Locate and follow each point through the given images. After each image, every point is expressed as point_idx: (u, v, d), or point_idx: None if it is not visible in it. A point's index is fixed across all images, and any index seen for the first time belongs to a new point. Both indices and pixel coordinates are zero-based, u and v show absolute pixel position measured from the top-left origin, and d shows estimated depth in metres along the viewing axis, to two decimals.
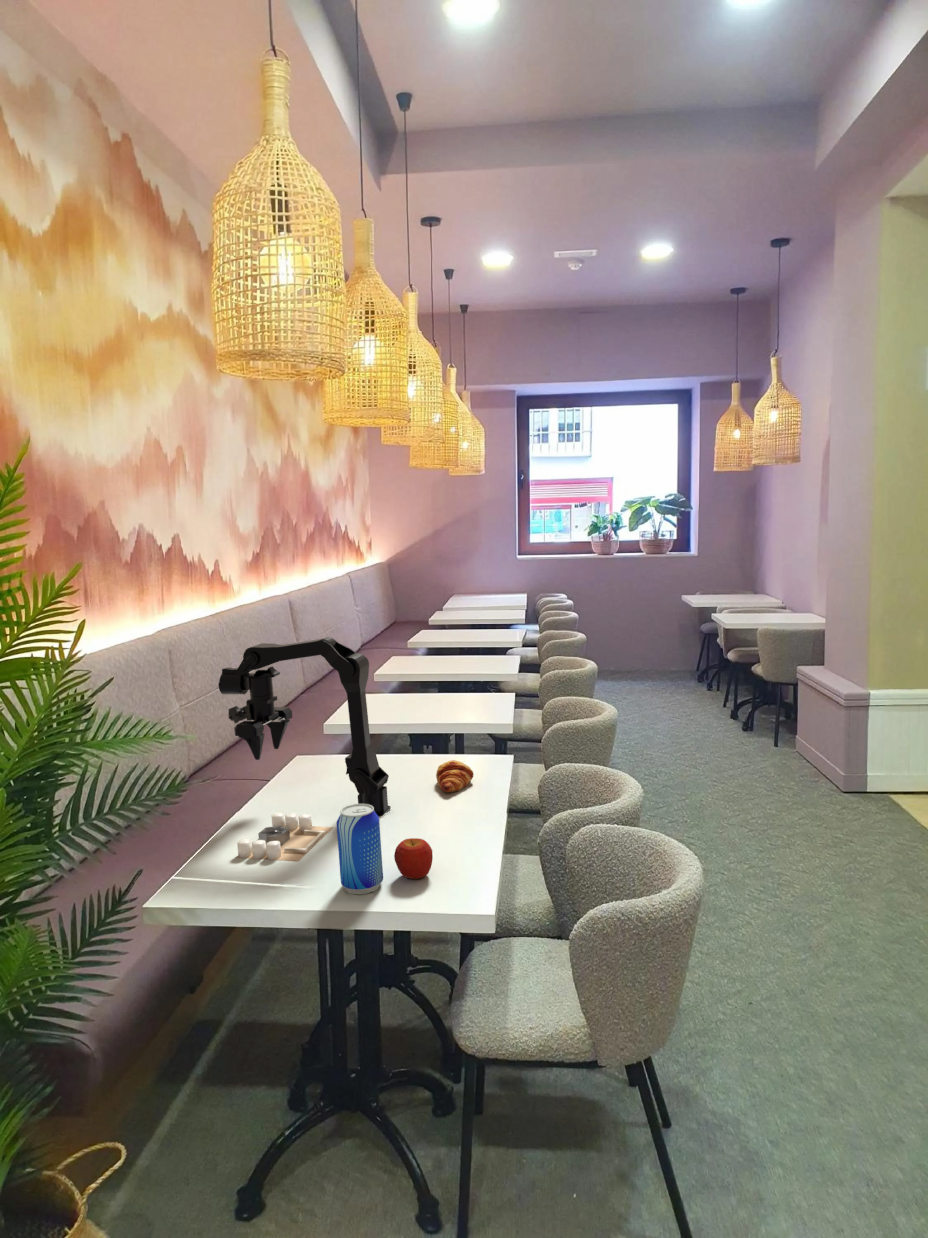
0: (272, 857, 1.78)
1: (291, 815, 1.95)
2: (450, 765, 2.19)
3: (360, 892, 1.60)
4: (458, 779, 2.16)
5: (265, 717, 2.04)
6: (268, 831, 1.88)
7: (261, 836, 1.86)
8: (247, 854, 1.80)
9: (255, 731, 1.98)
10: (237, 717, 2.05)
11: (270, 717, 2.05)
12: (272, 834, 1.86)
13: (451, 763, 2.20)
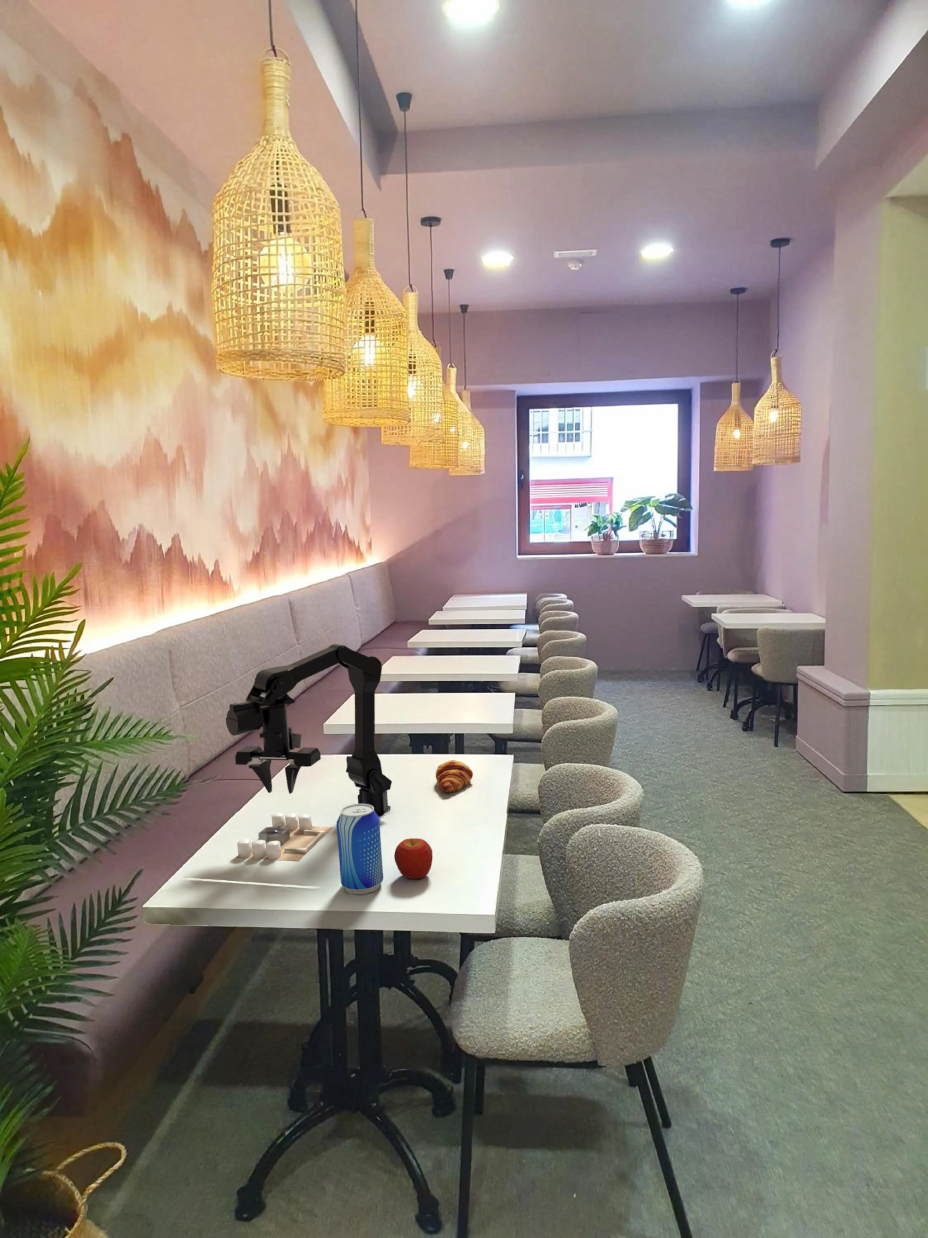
0: (272, 857, 1.78)
1: (291, 815, 1.95)
2: (449, 765, 2.20)
3: (360, 892, 1.60)
4: (457, 779, 2.16)
5: None
6: (268, 831, 1.88)
7: (261, 836, 1.86)
8: (247, 854, 1.80)
9: (235, 759, 1.84)
10: None
11: (264, 753, 1.82)
12: (272, 834, 1.86)
13: (450, 763, 2.20)
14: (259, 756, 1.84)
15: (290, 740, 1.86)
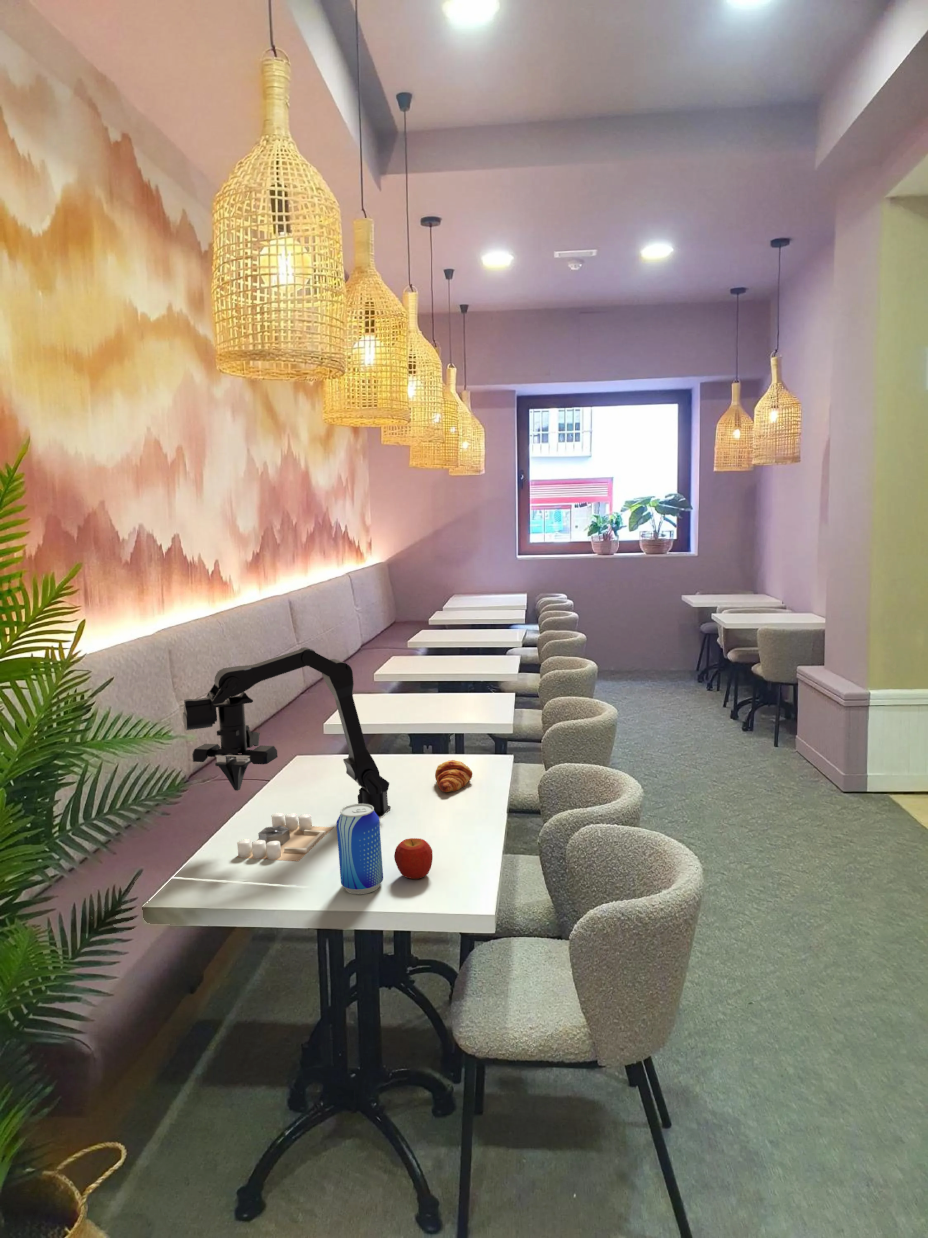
0: (272, 857, 1.78)
1: (291, 815, 1.95)
2: (449, 765, 2.20)
3: (360, 892, 1.60)
4: (456, 779, 2.16)
5: None
6: (268, 831, 1.88)
7: (261, 836, 1.86)
8: (247, 854, 1.80)
9: (192, 756, 1.87)
10: None
11: (221, 750, 1.85)
12: (272, 834, 1.86)
13: (450, 763, 2.20)
14: (226, 754, 1.86)
15: (247, 738, 1.88)
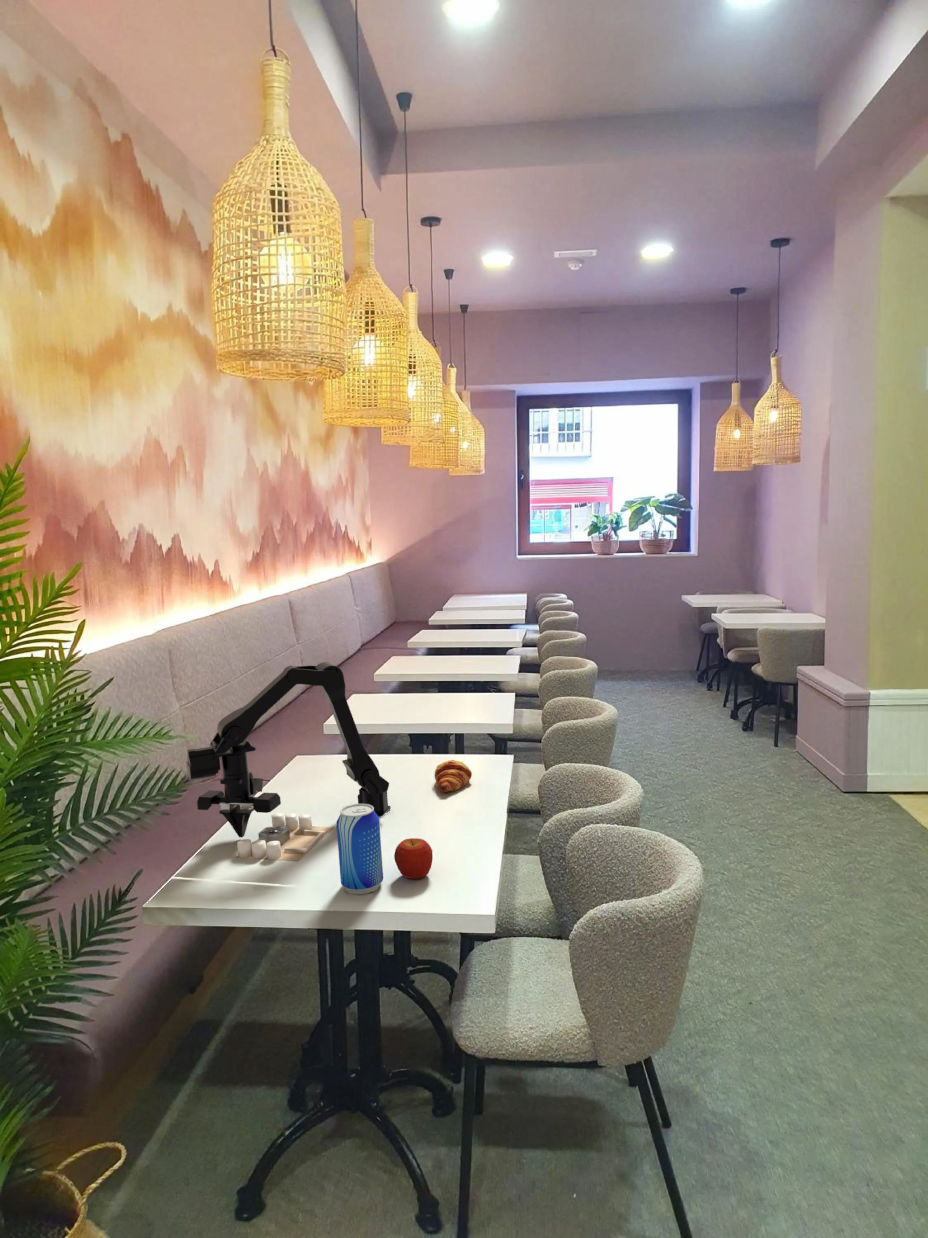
0: (272, 857, 1.78)
1: (291, 815, 1.95)
2: (448, 765, 2.20)
3: (360, 892, 1.60)
4: (455, 779, 2.16)
5: None
6: (268, 831, 1.88)
7: (261, 836, 1.86)
8: (247, 854, 1.80)
9: (197, 804, 1.88)
10: None
11: (225, 799, 1.86)
12: (272, 834, 1.86)
13: (449, 763, 2.20)
14: (230, 802, 1.88)
15: (251, 785, 1.90)
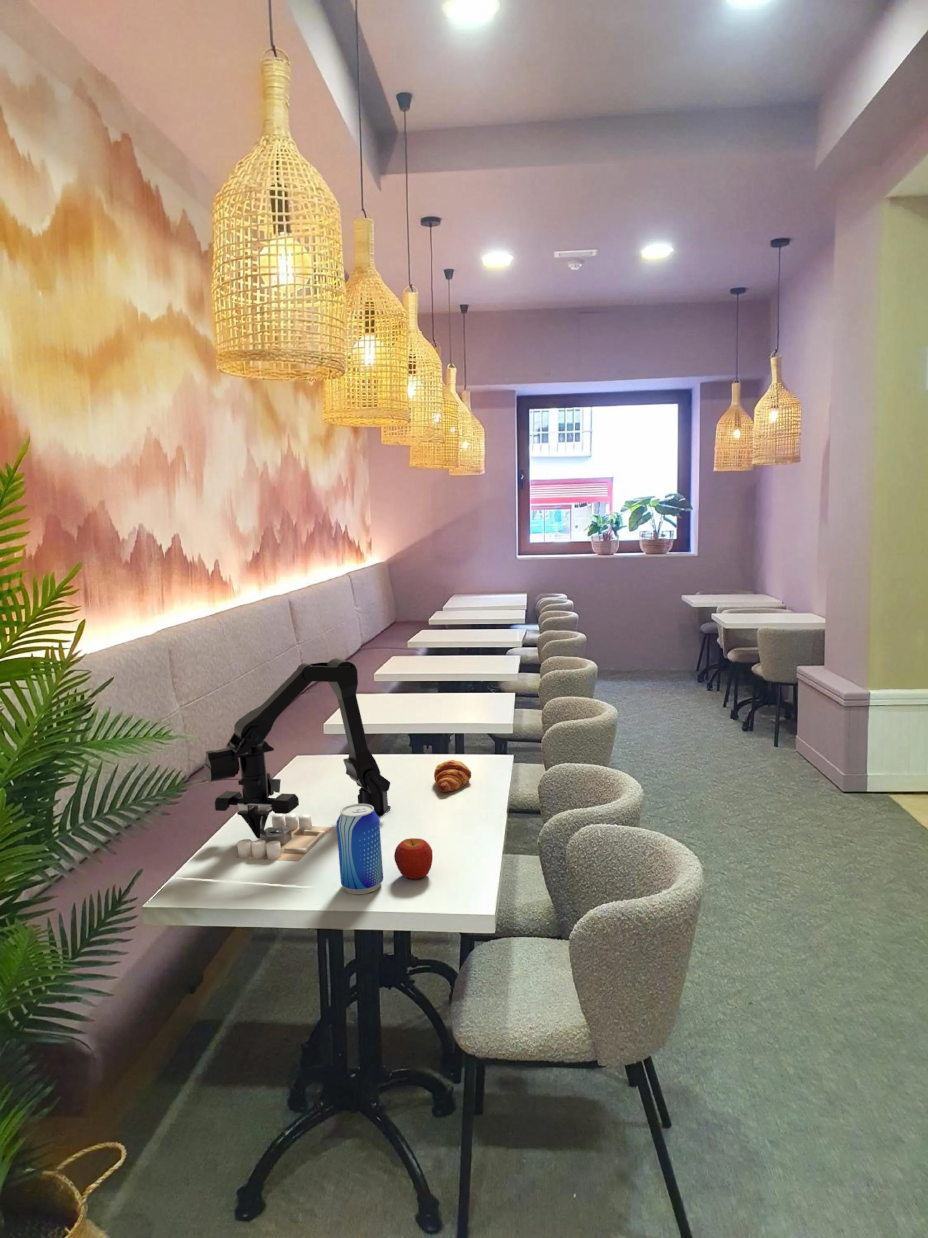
0: (272, 857, 1.78)
1: (291, 815, 1.95)
2: (448, 765, 2.20)
3: (360, 892, 1.60)
4: (455, 779, 2.17)
5: None
6: (270, 831, 1.87)
7: (263, 836, 1.86)
8: (247, 854, 1.80)
9: (214, 805, 1.87)
10: None
11: (243, 800, 1.85)
12: (273, 834, 1.86)
13: (449, 763, 2.20)
14: (248, 803, 1.87)
15: (269, 786, 1.89)
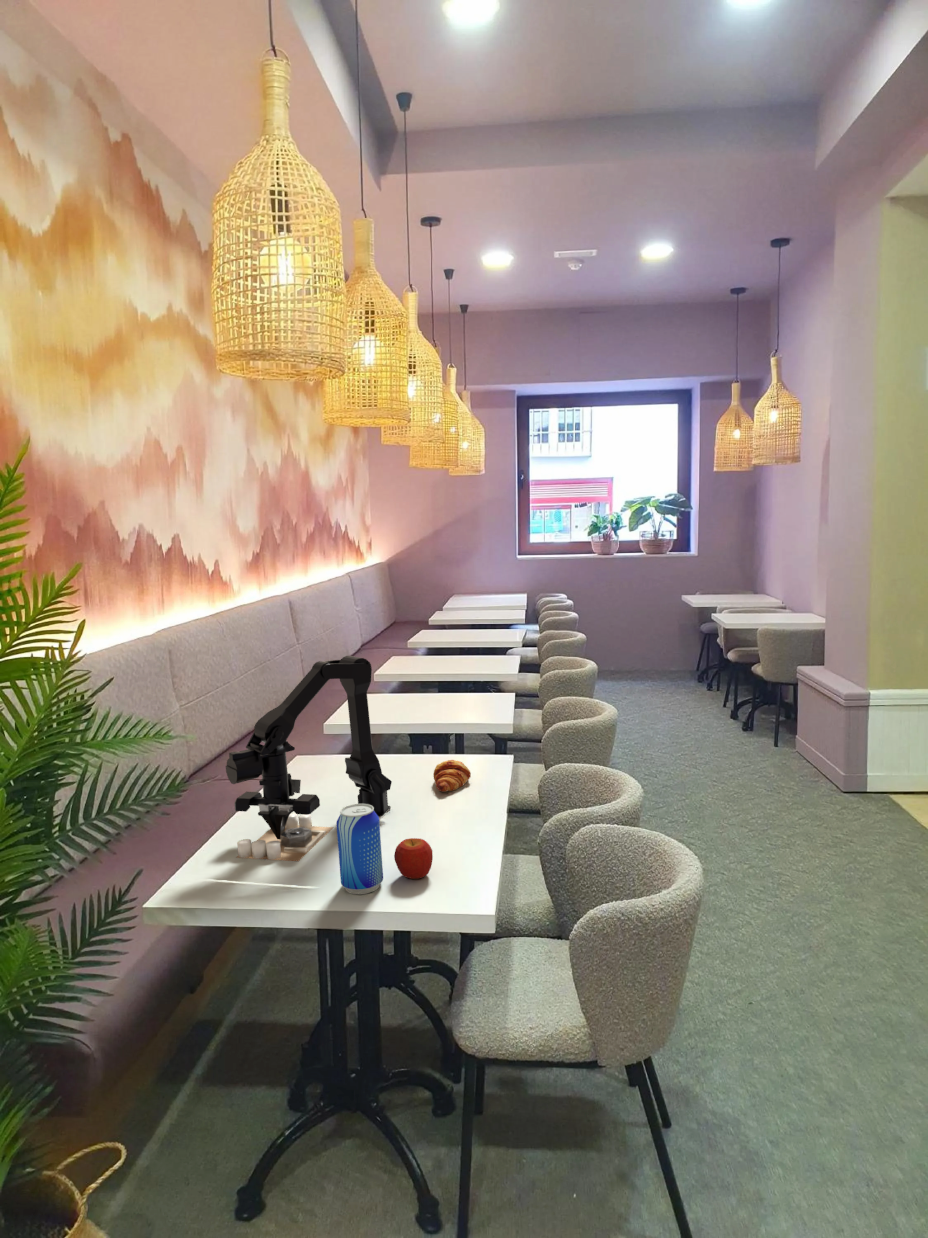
0: (272, 857, 1.78)
1: (291, 815, 1.95)
2: (447, 765, 2.20)
3: (360, 892, 1.60)
4: (454, 779, 2.17)
5: None
6: (290, 832, 1.86)
7: (283, 838, 1.84)
8: (247, 854, 1.80)
9: (235, 805, 1.86)
10: None
11: (264, 800, 1.84)
12: (294, 835, 1.84)
13: (448, 763, 2.20)
14: (268, 803, 1.86)
15: (289, 787, 1.87)
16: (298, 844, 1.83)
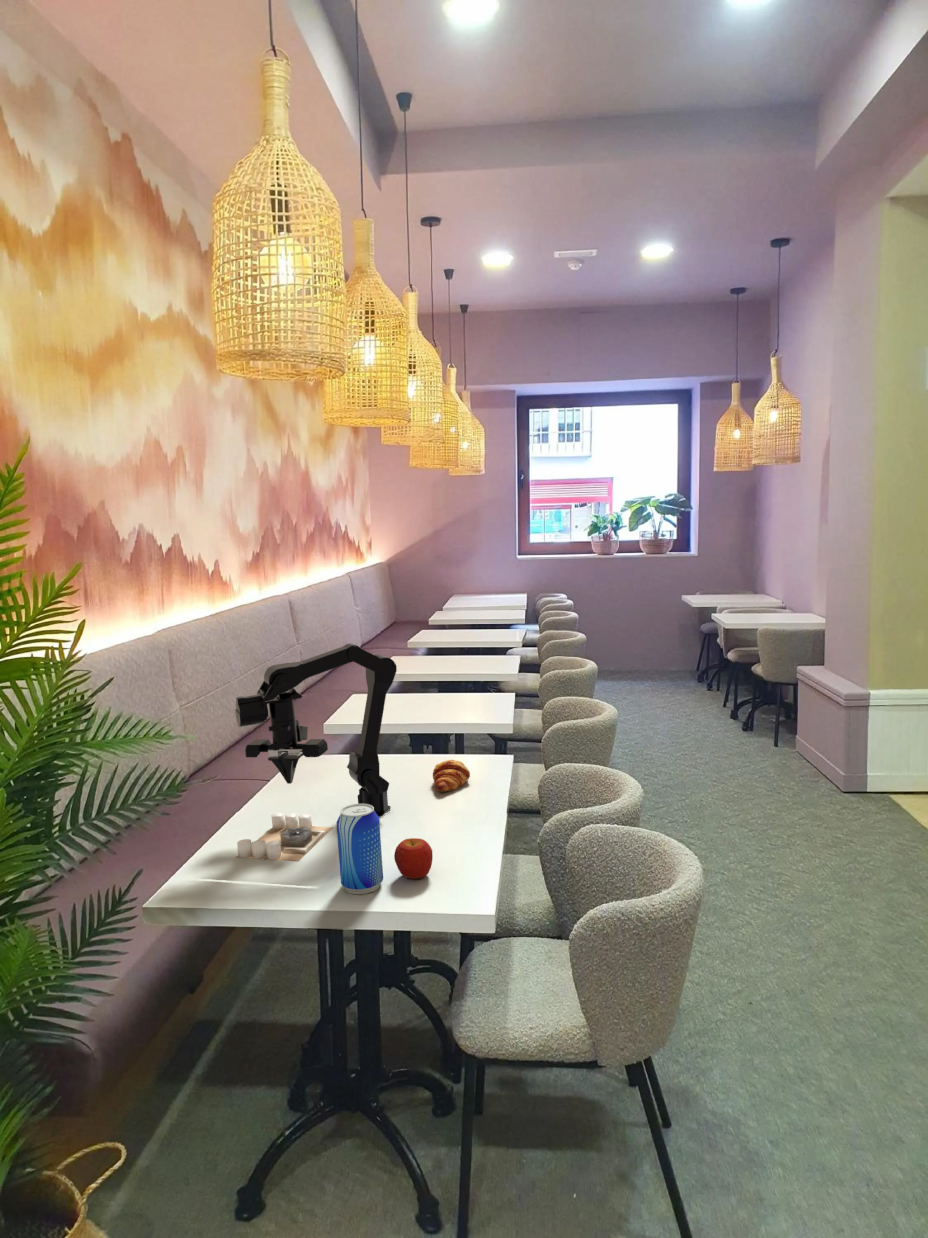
0: (272, 857, 1.78)
1: (291, 815, 1.95)
2: (446, 764, 2.20)
3: (360, 892, 1.60)
4: (453, 779, 2.17)
5: None
6: (290, 832, 1.86)
7: (283, 838, 1.84)
8: (247, 854, 1.80)
9: (245, 752, 1.92)
10: None
11: (273, 745, 1.90)
12: (294, 835, 1.84)
13: (447, 762, 2.21)
14: (278, 748, 1.92)
15: (298, 732, 1.94)
16: (298, 844, 1.83)
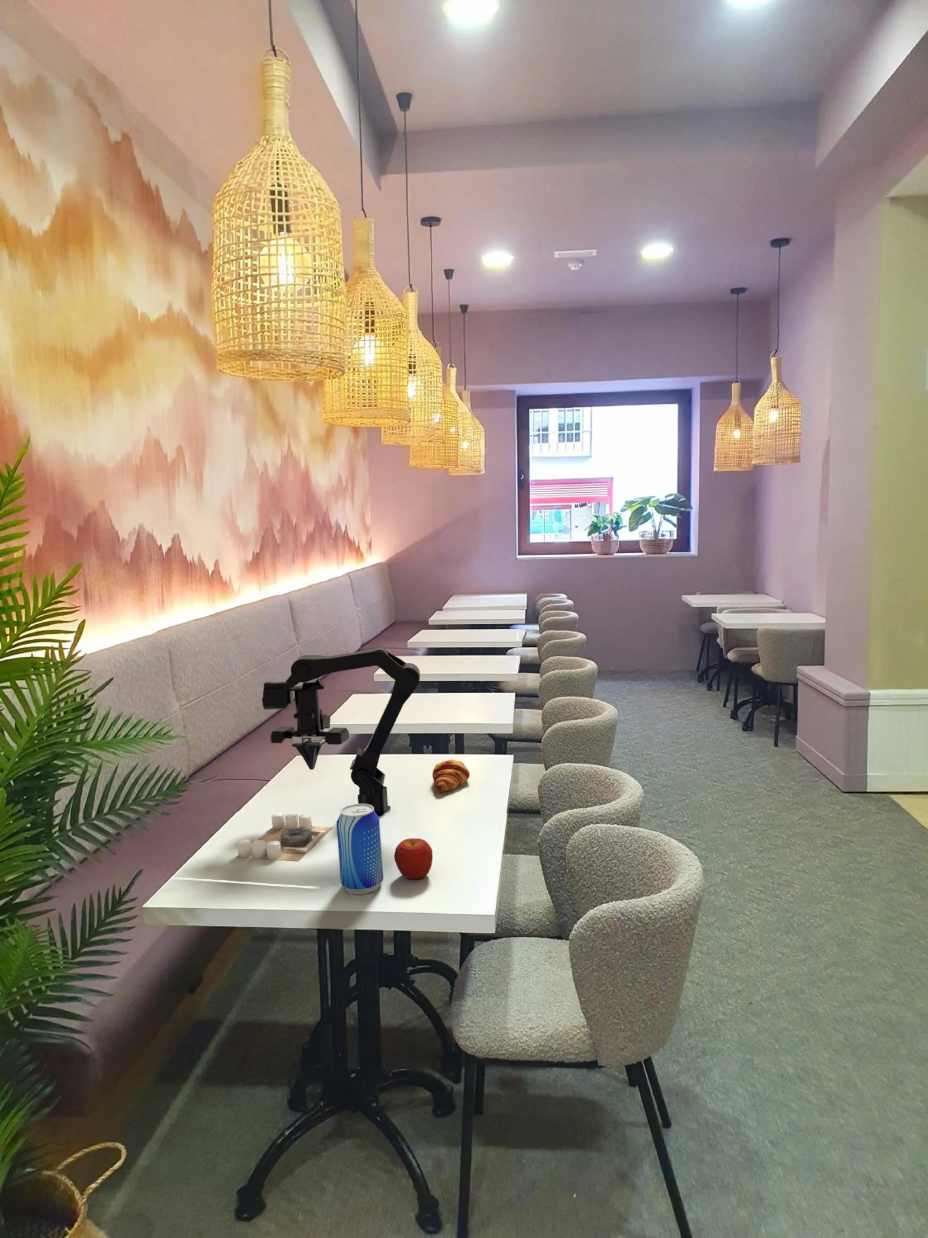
0: (272, 857, 1.78)
1: (291, 815, 1.95)
2: (446, 764, 2.20)
3: (360, 892, 1.60)
4: (452, 778, 2.17)
5: None
6: (290, 832, 1.86)
7: (283, 838, 1.84)
8: (247, 854, 1.80)
9: (270, 738, 2.00)
10: None
11: (298, 732, 1.98)
12: (294, 835, 1.84)
13: (447, 762, 2.21)
14: (301, 735, 2.00)
15: (321, 721, 2.02)
16: (298, 844, 1.83)
